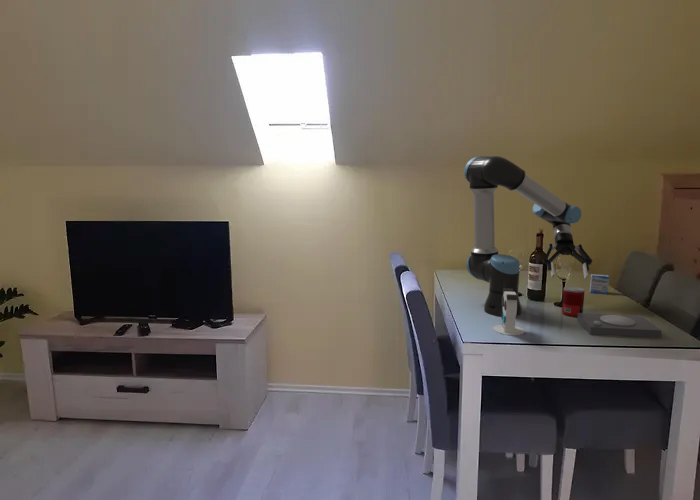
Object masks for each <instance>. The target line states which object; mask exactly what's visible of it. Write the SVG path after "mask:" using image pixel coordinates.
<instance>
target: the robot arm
mask: <svg viewBox="0 0 700 500" xmlns="http://www.w3.org/2000/svg"><path fill="white" fill-rule="evenodd" d="M463 172H464V178H465V180H466V181H467V182H468V183H469V190H470V191H472V192H473V235H474V236H473V237H474V241H473V242H474V247H472V248H471V250H470V255H469V256H468V257H467V259H466V269H467V272H468V273H469V275H470V276H472V277H473V278H475V279H477V280H480V281H484V282H486V283H489V288H488V289H489V291H488V292H489V293H488V295H487V297H486V300H485V302H484V305H483V311H484V312H486V313H488V314H491V315H494V316H499V317H502V312H503V307H502V296H503V289H504V288H505V289H513V292H515V293H516V295H517V313H516V316H519V315H521V314H522V304H521V301H520V297H519V285H520V284H519V283H520V271H521V268H520V261H519V260H518V258H517V257H515V256H512V255H509V254H508V255H507V254H503V253H502V254H501V253H499V249H498V248H497V247H496V244H495V237H496V236H495V191H496V190H497V189H498V188H499V187H498V186H500V187H503V188H506V189H508V190H509V191H515V192H516V193H517V194H519V195H521V196H522V197H524V198H525V199H527V200H529V201H530V202H531V203H533V206H532V208H531V210H532V211H531V212H532V213H533V214H534V215H535V216H536V217H538V218H540V219H541V220H544V221H545V222H547V223H549V224H551V225H552V230H553V236H554V243H555V244H554V245H553V243H550V244H549V245H548V248H547V252H546V254H545V256H544V258H543V260H542V264H546V267H547V270H548V271H550V277H551V279H554V277H555V268H554V260H555V259H556V258H557V257H559V256H560V255H561V256H565V255H566V256H571V257H573V258H574V259H576V260H577V261H578V262H579V263H581V264H582V272H583V273H582V274H583V277H584V279H585V280H586V279H588V277H589V273H588V272H589V270H590V267H589V266H590V265H592V262H593V259H592V258H591V257H590V256H589V255H588V253H587V252H586V251H585V250H584V248H583V246H582V244H581V243H580V244H578V245H575V244H574V238H573V237H574V236H573V233H572V232H573V231H572V226H571V224H577V223H579V221H580V220H581V218H582V210H581V208H579V206H575V205H571V204H568V203H567V202H565V201H564V200H563V199H562V198H560V197H559V196H557V195H556V194H554V193H553V192H552V191H550V190H548V189H547V188H545V186H543V185H542V184H540V183H538V182H536V180H534V179H533V178H531V177H529V176H528V175H527V174H526V170H524V169H523V168H521V167H520V166H518V165H517V164H515V163H514V162H512V161H510V160H509V159H507V158H504V157H502V156H497V155H496V156H495V155H493V156H491V155H490V156H487V155H485V156H484V155H480V156H475V157H473V158H471V159H470V160H468V162H467V163H466V164H465V167H464V171H463ZM554 249H555V253H554V254H552V256H551V257H550V254H551V252H552V251H554ZM549 257H550V258H549Z"/></svg>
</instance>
